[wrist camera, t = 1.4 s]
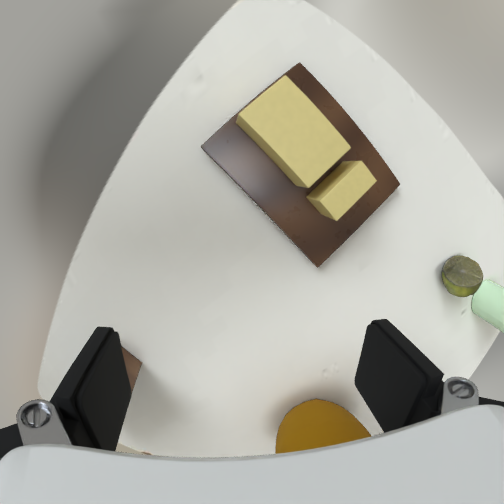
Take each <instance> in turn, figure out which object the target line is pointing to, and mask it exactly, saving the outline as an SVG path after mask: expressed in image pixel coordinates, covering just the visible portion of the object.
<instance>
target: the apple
mask: <svg viewBox="0 0 504 504" xmlns="http://www.w3.org/2000/svg"><path fill="white" fill-rule="evenodd" d="M367 437H371V435H370V434H369V432H368V431H367V429H366V428H365V427H364V426H363V425H362V424H361V423H360V422H359V421H358V420H357V419H356V418H355V417H354V416H353V415H352V414H351V413H350V412H348V411H347V410H345V409H344V408H343V407H341V406H339V405H337V404H335V403H333V402H329V401H325V400H319V399H314V400H310V401H306V402H303V403H301V404H299V405H297V406H296V407H294V408H293V409H292V410H290V411H289V412H288V413H287V414H286V415H285V417H284V419H283V421H282V422H281V424H280V426H279V430H278V434H277V438H276V454H279V453H288V452H295V451H302V450H309V449H315V448H321V447H326V446H331V445H336V444H341V443H346V442H350V441H355V440H359V439H363V438H367Z"/></svg>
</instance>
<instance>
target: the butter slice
mask: <svg viewBox="0 0 504 504" xmlns="http://www.w3.org/2000/svg"><path fill="white" fill-rule="evenodd" d="M376 181H377V180H376V179H375V178H374V176H373V175H372V174H371V172H370V171H369V170H368V168H367V167H366V166H365V164H364V163H363V162H362V161H344V162H342V163H341V164H340V165H339V166H338V167H337V168H336V169H335V170H334V171H333V172H332V173H331V174H330V175H329V176H327V177H326V178H325V179H324V180H323V181H322V182H321V183H320V184H319V185H318V186H317V187H316V188H315V189H314V190H313V191H312V192H311V193H310V194H309V195H308V196H307V197H306V198H307V199H308V200H309V201H310V202H311V203H312V204H313V206H314V207H315V208H316V209H317V210H318V211H319V212H320V214H322V215H324V216H326V217H329V218H331V219H333V220H335V221H337V220H338V219H339V218H340V217H342V216H343V215H344V214H345V213H346V212H347V211H348V210H349V209H350V208H351V207H352V206H353V205H354V204H355V203H356V202H357V201H358V200H359V199H360V198H361V197H362V196H363V195H364V194H365V193H366V192H367V191H368V190H369V189H370V187H371V186H372V185H373V184H374V183H375V182H376Z"/></svg>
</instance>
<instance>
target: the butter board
mask: <svg viewBox="0 0 504 504" xmlns="http://www.w3.org/2000/svg"><path fill="white" fill-rule="evenodd" d="M285 75H286V76H287V77H288V78H289V79H290V80H291V81H292V82H293V83H294V84H295V85H296V86H297V87H298V88H299V89H300V90H301V91H302V92H303V93H304V94H305V95H306V96H307V97H308V98H309V99H310V101H311V102H312V103H313V104H314V105H315V106H316V107H317V108H318V109H319V110H320V111H321V113H322V114H323V115H324V116H325V117H326V118H327V119H328V120H329V122H330V123H331V124H332V125H333V126H334V127H335V129H336V130H337V131H338V132H339V133H340V134H341V136H342V137H343V138H344V139H345V140H346V142H347V143H348V144H349V145H350V147H351V149H349V150H348V151H347V152H346V153H345V154H344V155H343V156H342V157H341V158H340V159H339V160H338V161H337V162H336V163H335V164H334V165H333V166H332V167H330V168H329V169H328V170H327V171H326V172H325V173H324V174H323V175H322V176H321V177H320V178H319V179H318V180H317V181H316V182H315V183H314V184H313V185H312V186H311V187H309V188H306V187H300V186H296V185H295V184H294V183H293V182H292V181H291V180H290V179H289V178H288V177H287V175H286V174H285V173H284V172H283V171H282V170H281V169H280V168H279V167H278V166H277V165H276V164H275V163H274V161H273V160H272V159H271V158H270V157H269V156H268V155H267V154H266V153H265V152H264V151H263V150H262V149H261V148H260V147H259V146H258V145H257V144H256V143H255V142H254V141H253V140H252V139H251V138H250V137H249V136H248V135H247V134H246V133H245V132H244V131H243V130H242V129H241V128H240V127H239V126H238V125H237V124H236V121H237V118H238V115H239V113H240V112H241V111H242V110H244V109H245V108H246V107H247V106H248V105H249V104H250V103H252V102H253V101H254V100H255V99H256V98H258V97H259V96H260V95H261V94H262V93H264V92H265V91H266V90H267V89H268V88H270V87H271V86H272V85H273V84H275V83H276V82H277V81H278V80H280V79H281V78H282V77H283V76H285ZM201 148H202V149H203V150H204V151H205V152H206V153H207V154H208V155H209V156H210V157H211V158H212V159H213V160H214V161H215V162H216V163H217V164H218V165H219V166H220V167H221V168H222V169H223V170H224V171H225V172H226V173H227V174H228V175H229V176H230V177H231V178H232V179H233V180H234V181H235V182H236V183H237V184H238V185H239V186H240V187H241V188H242V189H243V190H244V191H245V192H246V193H247V194H248V195H249V196H250V197H251V198H252V199H253V200H254V201H255V202H256V203H257V204H258V205H259V206H260V207H261V208H262V210H263V211H264V212H265V213H266V214H267V215H268V216H269V217H270V218H271V219H272V220H273V221H274V222H275V223H276V224H277V225H278V226H279V227H280V228H281V229H282V230H283V232H284V233H285V234H286V235H287V236H288V237H289V238H290V239H291V240H292V241H293V242H294V243H295V244H296V245H297V246H298V248H299V249H300V250H301V251H302V252H303V253H304V254H305V255H306V256H307V257H308V258H309V259H310V260H311V262H312V263H313V264H314V265H315V266H316V267H317V268H318V267H319V266H320V265H321V264H322V263H323V262H324V261H325V260H326V259H327V258H328V257H329V256H330V255H331V254H332V253H333V252H334V251H335V250H336V249H337V248H338V247H339V246H341V245H342V244H343V243H344V242H345V241H346V240H347V239H348V238H349V237H350V236H351V235H352V234H353V233H354V232H355V231H356V230H357V229H358V228H359V227H360V226H361V225H362V224H363V223H364V222H365V220H366V219H367V218H368V217H369V216H370V215H371V214H372V213H373V212H374V211H375V210H376V209H377V208H378V207H379V206H380V205H381V204H382V203H383V202H384V201H385V200H386V199H387V198H388V197H389V196H390V195H391V194H392V192H393V191H394V190H395V189H396V188H397V187H398V186H399V185H400V183H399V181H398V180H397V179H396V177H395V176H394V174H393V173H392V171H391V170H390V168H389V167H388V166H387V164H386V163H385V161H384V160H383V159H382V157H381V156H380V155H379V153H378V152H377V150H376V149H375V148H374V147H373V145H372V144H371V143H370V141H369V140H368V139H367V137H366V136H365V135H364V134H363V132H362V131H361V130H360V129H359V127H358V126H357V125H356V124H355V122H354V121H353V120H352V119H351V118H350V116H349V115H348V114H347V113H346V112H345V110H344V109H343V108H342V107H341V106H340V105H339V104H338V102H337V101H336V100H335V99H334V98H333V97H332V96H331V95H330V93H329V92H328V91H327V90H326V89H325V88H324V87H323V86H322V85H321V84H320V83H319V82H318V81H317V79H316V78H315V77H314V76H313V75H312V74H311V73H310V72H309V71H308V70H307V69H306V68H305V67H304V66H303V65H302V64H301V63H300V62H299V63H298V64H296V65H295V66H294V67H293V68H291V69H290V70H289V71H287V72H286V73H285V74H283V75H282V76H281V77H280V78H278V79H277V80H276V81H275V82H273V83H272V84H271V85H270V86H268V87H267V88H266V89H265V90H264V91H262V92H261V93H260V94H259V95H257V96H256V97H255V98H254V99H253V100H252V101H250V102H249V103H248V104H247V105H246V106H245V107H243V108H242V109H241V110H240V111H239V112H238V113H237V114H235V115H234V116H233V117H232V118H231V119H230V120H229V121H228V122H226V123H225V124H224V125H223V126H222V127H221V128H220V129H219V130H218V131H217V132H216V133H215V134H213V135H212V136H211V137H210V138H209V139H208V140H207V141H206V142H205V143H204V144H203V145H202V146H201ZM344 161H362V162H363V163H364V164H365V166H366V167H367V168H368V170H369V171H370V172H371V174H372V175H373V176H374V178H375V179H376V180H377V181H376V182H375V183H374V184H373V185H372V186H371V187H370V189H369V190H368V191H367V192H366V193H365V194H364V195H363V196H362V197H361V198H360V199H359V200H358V201H357V202H356V203H355V204H354V205H353V206H352V207H351V208H350V209H349V210H348V211H347V212H346V213H345V214H344V215H343V216H342V217H340V218H339V219H338V220H337V221H335V220H333V219H331V218H329V217H326V216H324V215H322V214H320V212H319V211H318V210H317V209H316V208H315V207H314V206H313V204H312V203H311V202H310V201H309V200H308V199H307V198H306V197H307V196H308V195H309V194H310V193H311V192H312V191H313V190H314V189H315V188H316V187H317V186H318V185H319V184H320V183H321V182H322V181H323V180H324V179H325V178H326V177H327V176H329V175H330V174H331V173H332V172H333V171H334V170H335V169H336V168H337V167H338V166H339V165H340V164H341V163H342V162H344Z"/></svg>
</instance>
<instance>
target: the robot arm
mask: <svg viewBox="0 0 504 504" xmlns="http://www.w3.org/2000/svg"><path fill="white" fill-rule="evenodd" d="M443 375H444V374H443V373H442V372H441V371H440V370H439V369H438V368H437V367H436V366H435V365H434V364H433V363H432V362H431V361H430V360H429V359H428V358H427V357H426V356H425V355H424V354H423V353H422V352H421V351H420V350H419V349H418V348H417V347H416V346H415V345H414V344H413V343H412V342H411V341H410V340H408V339H407V338H406V337H405V336H404V335H403V334H402V333H401V332H400V331H399V330H398V329H397V328H396V327H395V326H394V325H393V324H392V323H390V322H389V321H388V320H387V319H381V320H373V321H372V322H371V324H369V325H368V326H367V329H366V334H365V339H364V343H363V347H362V352H361V356H360V360H359V364H358V368H357V372H356V376H355V386H356V388H357V389H358V391H359V392H360V394H361V396H362V397H363V399H364V400H365V402H366V404H367V405H368V407H369V409H370V410H371V412H372V413H373V415H374V417H375V418H376V420H377V422H378V423H379V425H380V426H381V428H382V430H383V431H384V433H382V434H379V435H375V436H371V437H367V438H363V439H359V440H355V441H350V442H346V443H341V444H336V445H331V446H326V447H321V448H315V449H309V450H302V451H295V452H288V453H279V454H270V455H258V456H244V457H218V458H194V457H169V456H155V455H143V454H132V453H123V452H116V451H115V450H116V446H117V443H118V439H119V436H120V432H121V429H122V425H123V422H124V418H125V415H126V412H127V408H128V405H129V402H130V399H131V386H130V382H129V378H128V374H127V370H126V365H125V361H124V357H123V352H122V348H121V343H120V338H119V334H118V332H114V329H113V328H111V327H97V328H96V329H95V331H94V332H93V334H92V335H91V337H90V338H89V340H88V341H87V343H86V344H85V346H84V347H83V349H82V350H81V352H80V353H79V355H78V357H77V358H76V360H75V361H74V362H73V364H72V366H71V367H70V369H69V370H68V372H67V374H66V375H65V377H64V378H63V380H62V382H61V383H60V385H59V387H58V388H57V390H56V392H55V393H54V395H53V397H52V398H51V400H50V402H49V401H46V400H38V399H37V400H32V401H29V402H27V403H25V404H24V405H23V406H21V408H20V409H19V410H18V413H17V415H16V417H17V424H14V425H11V426H8V427H5V428H2V429H0V504H504V402H501V401H496V400H492V399H487V398H482V397H479V396H478V389H477V387H476V386H475V384H474V383H473V382H471V381H470V380H468V379H466V378H462V377H451V378H449V379H447V380H446V381H445V383H444V382H443V381H442V378H443Z"/></svg>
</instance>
